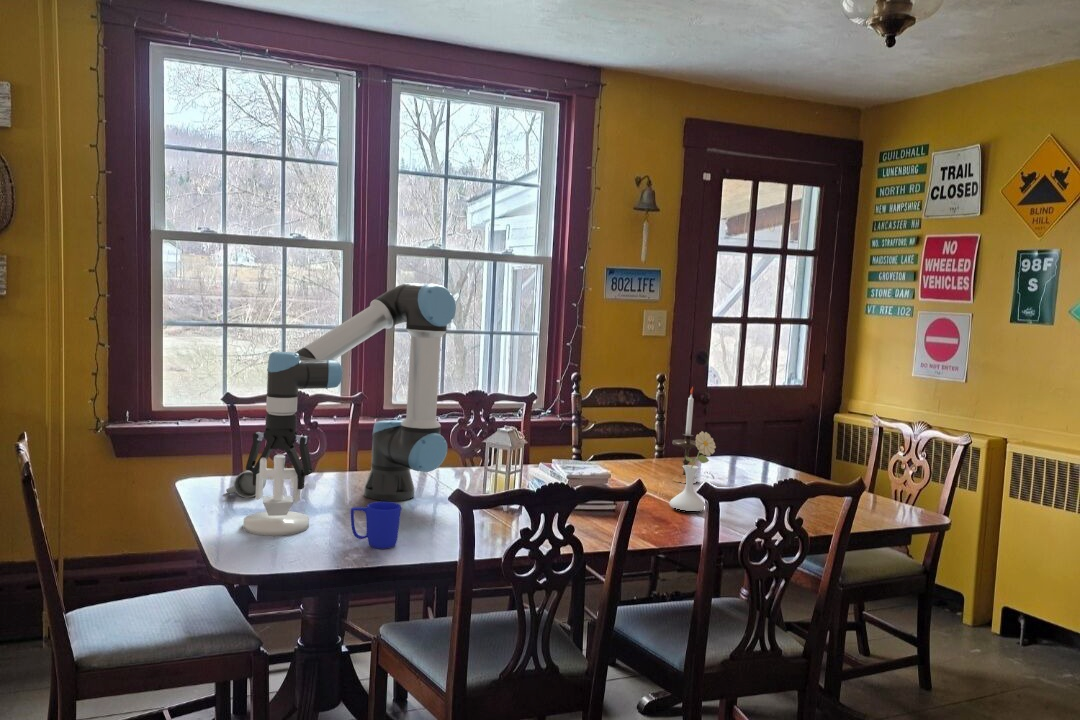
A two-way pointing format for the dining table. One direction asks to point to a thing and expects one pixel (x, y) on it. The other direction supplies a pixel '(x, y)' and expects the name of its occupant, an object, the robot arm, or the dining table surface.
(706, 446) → the flower in vase
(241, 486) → the ceramic mug
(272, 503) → the figurine
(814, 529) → the dining table surface
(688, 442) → the candlestick
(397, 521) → the mug
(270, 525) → the disc
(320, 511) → the dining table surface
